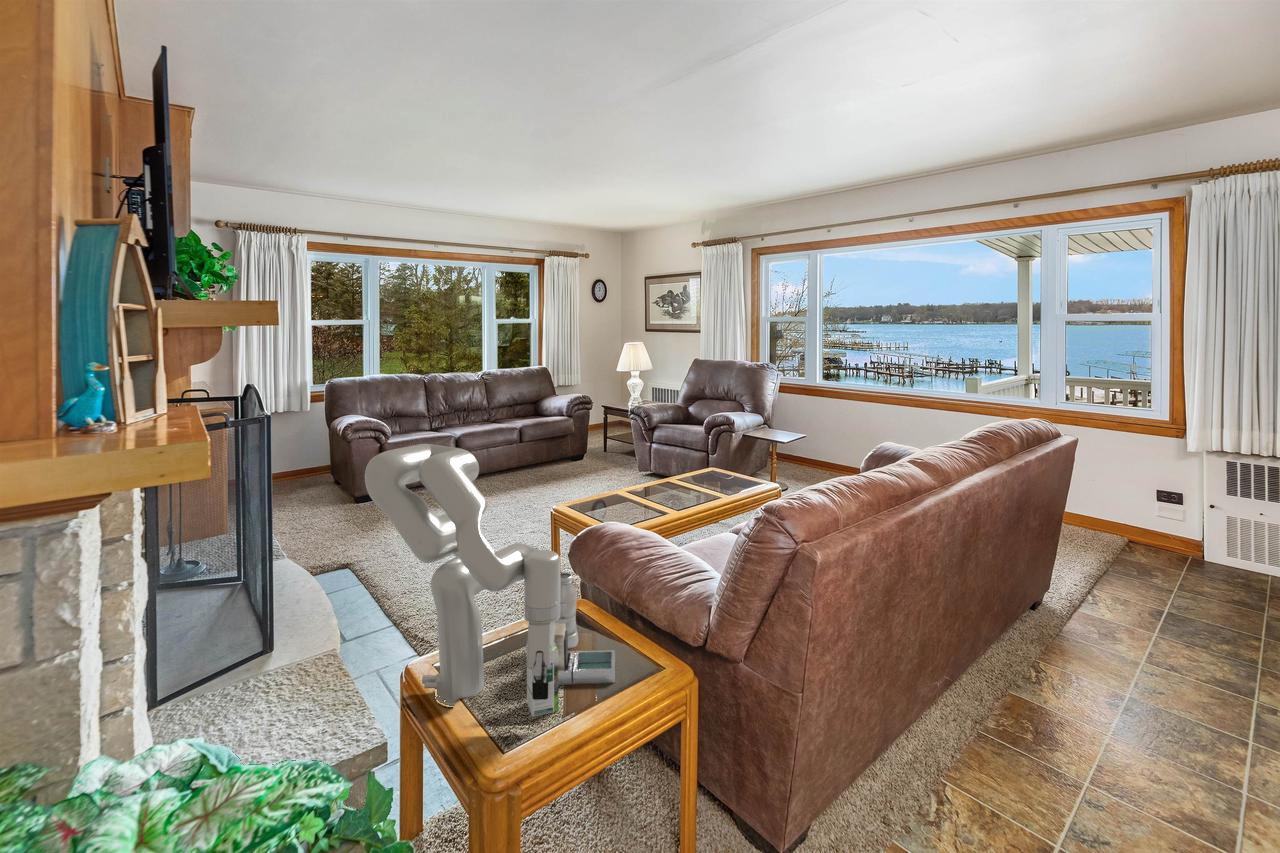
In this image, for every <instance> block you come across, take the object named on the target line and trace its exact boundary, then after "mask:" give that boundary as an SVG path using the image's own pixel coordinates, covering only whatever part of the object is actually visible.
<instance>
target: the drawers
mask: <svg viewBox="0 0 1280 853" xmlns="http://www.w3.org/2000/svg"><path fill="white" fill-rule="evenodd" d="M616 662H617V661H616V650H615V649H607V650H605V649H604V650H603V649H602V650H599V649H597V650H576V651H574V650H568V662H567V668H566V670H558V686H560V685H561V686H562V685H589V684H591V685H592V684H593V685H594V684H595V685H596V684H597V685H598V684H616V683H617V679H616V678H617V676H616V675H617V674H616V673H617V666H616V665H617V663H616Z"/></svg>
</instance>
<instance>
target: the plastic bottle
mask: <svg viewBox="0 0 1280 853" xmlns="http://www.w3.org/2000/svg"><path fill="white" fill-rule="evenodd" d="M572 583H573V578H572V574H571V573H569V572H562V573H560V618H559V619H558V620H556V621H555V624H564V623H565V625H566V630H568V650H570V649H572V648H575V647H576V646H578V644H579V634H578V630H577V620H576V616H577V615H576V613H577V602H578V592H577V590H576V588H575V586H573V584H572Z"/></svg>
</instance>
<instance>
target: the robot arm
mask: <svg viewBox="0 0 1280 853" xmlns="http://www.w3.org/2000/svg"><path fill="white" fill-rule="evenodd" d="M479 464H480V463H479V462H478V460H477V458H476V456H475V455H474V454H473V453H471V452H470V451H469V450H466V449H463V448H460V447H454V446H444V445H440V444H432V443H431V444H430V443H420V444H414V445H408V446H404V447H399V448H395V449H390V450H386V451H383V452H380V453H377V454H376V455H374V456H373V457H372V458H371V459H370V460H369V461H368V463H367V465H366V467H365V470H364V472H365V473H364V483H365V488H366V492H367V494H368V495H369V497H370V499H371V500H372V502H373V503H374V504H375V505H376V506H377V508H378V509H379V510H380V511H381V512H382V513H383V514H384V515H385V516H386V517H387V518H388V520H389V521H390V522H391V524H392V525H393V527H394V528H395V530H396V531H397V532H398V534H399V535H400V537H401V538H402V539H403V541H404V542H405V543H406V545H407V547H408V548H409V549H410V551H411V552H412V554H414V556H415V557H416V559H418V560H419V561H420V562H421V563H423V564H432V563H435V562H439V561H441V560H442V559H445V558H447V557H450V556H452V555H454V558H451V559H450V560H447V561H446V562H444V563H443V564H441V565H440V566H438V568H436V570H434V572H433V574H432V576H431V579H430V580H431V581H430V590H431V594H432V599H433V601H434V605H435V606H434V607H435V611H436V621H437V624H436V625H437V637H438V638H437V639H438V640H437V641H438V656H439V672H438V673H436V674H423V675H422V678H421V684H422V685H423V688H424V689H426V690H427V689H434V690H435V689H437V695H438V696H437V697H436V696H435V697H436V700H438V701H439V702H440V703H443V704H445V705H449V706H454V707H455V705H456V703H457V701H458V700H461V699H466V698H470V697H473V696H475V695H477V694H478V693H480V692H481V691H483V688H485V677H484V676H485V672H484V671H485V670H484V669H485V668H484V650H483V649H484V647H483V645H484V644H483V627H482V626H483V625H482V614H481V611H480V608H479V607H478V605H477V604H476V602H475V596H477V595H478V594H480V593H481V592H482V591H484V590H487V591H489V592H492V593H493V592H495V593H497V592H501V591H503V590H506V589H507V588H510V587H511V586H512V585H514V584H515V583H517V582H519V581H522V580H523V583H524V584H523V585H524V586H523V589H524V590H523V591H524V593H523V594H524V596H523V597H524V598H523V599H524V600H523V601H524V607H523V608H524V610H523V611H524V613H523V614H524V615H523V616H524V620H525V621H526V622H528V627H527V642H526V644H527V650H526V669H527V668H528V669H532V668H533V665H534V671H533V681H532V698H533V699H534V700H546V699H548V680H547V669H548V668H549V667H550V665H551V660H552V651H553V647H554V640H555V624H556V620H558V619H559V618H560V574H561V557H560V555H559V554H558V553H557V552H556V551H553V550H549V549H548V550H547V549H538V548H536V547H533V546H531V545H529V544H526V543H522V542H516V543H512V544H510V545H508V546H506V547H504V548H502V549H500V550H497V551H495V550H494V548H493V547H492V545H491V544H490V543H489V541H488V540H487V539H486V537H484V535H483V534H482V532H481V529H480V528H481V526H480V525H481V520H482V517H483V515H484V514H485V513H486V511H487V510H488V505H489V504H488V503H489V502H488V500H487V498H485V496H484V495H483V493H482V492H481V490H479V488H477V487H476V485H475V484H474V483H473V482H474V481H475V480H476V479H477V477H478V476H479V472H480V465H479ZM417 482H421V484H422V485H423V486H424V488H425V489H426V491H428V492H427V493H428V494H430V495H431V497H432V498H433V499H434V501H435V502H436V503H437V505H439V507H440V508H441V510H443V512H444V513H443V514H441V515H437V514H436V513H435V511H434V510H432V508H431V507H430V506H429V504H428V503H427V501H426V500H425V499H424V498H423V497H421V496H420V495H419V494H417V493H416V492H414V491H412V490H411V489H409V488H407V486H406V485H408V484H413V483H417ZM542 663H545V666H542ZM542 670H544V675H543V674H542ZM439 696H440V697H439ZM444 700H446V701H445V702H444Z"/></svg>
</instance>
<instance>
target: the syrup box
mask: <svg viewBox="0 0 1280 853" xmlns="http://www.w3.org/2000/svg"><path fill="white" fill-rule="evenodd" d="M525 647H526V650H525V651H527V643H526V646H525ZM542 666H545V663H542ZM533 671H534V665H533V668H532V669H528V668H527V667H526V701H527V702H526V703H527V706H528V709H529V711H530V714H531V717H537V716H542V715H547V714H551V713H555V712H559V710H560V709H559V685H558V649H557V647H556V644H555V643H554V647H553V651H552V660H551V665H550V667H549V668H548V669H547V680H548V699H546V700H534V699H533V698H532V681H533ZM542 674H543V675H544V670H542Z"/></svg>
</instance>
